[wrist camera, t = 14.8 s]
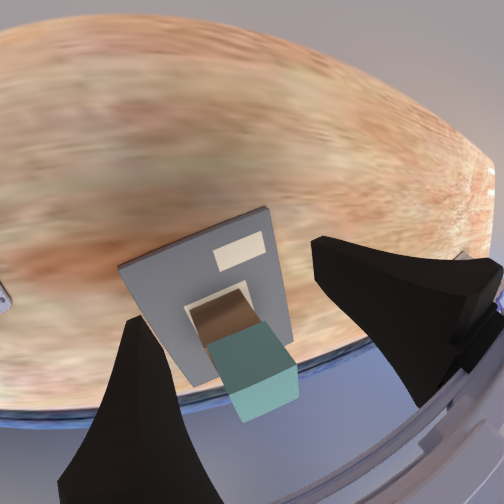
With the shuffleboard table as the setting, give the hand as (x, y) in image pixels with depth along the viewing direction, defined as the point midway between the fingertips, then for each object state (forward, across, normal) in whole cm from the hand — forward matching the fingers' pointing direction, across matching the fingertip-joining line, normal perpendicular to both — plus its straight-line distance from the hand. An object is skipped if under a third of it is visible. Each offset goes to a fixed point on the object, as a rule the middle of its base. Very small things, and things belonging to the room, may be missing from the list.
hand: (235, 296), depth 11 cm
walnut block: (+10, 0, +10) cm, 14 cm away
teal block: (+5, 0, +10) cm, 11 cm away
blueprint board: (+10, 0, +10) cm, 14 cm away
